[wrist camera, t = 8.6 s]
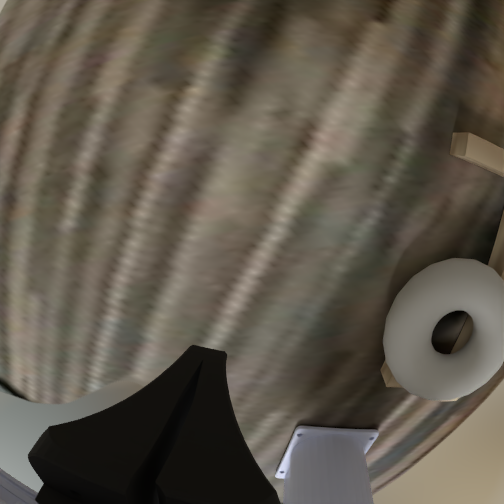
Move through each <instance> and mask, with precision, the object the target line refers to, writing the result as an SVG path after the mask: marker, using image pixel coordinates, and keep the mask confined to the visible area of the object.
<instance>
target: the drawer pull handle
mask: <svg viewBox="0 0 504 504" xmlns="http://www.w3.org/2000/svg"><path fill="white" fill-rule="evenodd" d="M450 155H452V156H455V157H457V158H460V159H462V160H465V161H467V162H470V163H472V164H475V165H477V166H479V167H482V168H484V169H486V170H489V171H491V172H493V173H495V174H497V175H500V176H502V177H504V149H502V148H500V147H498V146H497V145H495V144H493V143H490V142H488V141H486V140H484V139H482V138H480V137H478V136H476V135H474V134H471V133H469V132H460V133H453V136H452V142H451V149H450ZM488 266H489V267H491V268H493V269H494V270H495V271H496V272H497V274H498V275H499V276H500V277H501V278H502V279H503V280H504V210H503V214H502V218H501V222H500V226H499V230H498V233H497V237H496V240H495V244H494V247H493V250H492V253H491V257H490V260H489V263H488ZM472 332H473V319H472V317H471V316H470V315H468V317H467V319H466V322H465V324H464V326H463V328H462V331H461V333H460V335H459V337H458V339H457V341H456V343H455V345H454V347H453V349H452V351H451V353H450V354H452V353H455V352H457V351H458V350H460V349H461V348H463V347H464V346H465V345H466V343H467V342H468V341H469V339H470V337H471V335H472ZM380 371H381V373H382V376H383V379H384V382H385V384H386V387H402V386H401V385H400V384H399V383H398V382H397V381H396V379H395V377H394V376H393V374H392V372H391V370H390V368H389V366H388V365H387V363H386V359H385V361H384V363H383V366H382V368H381V370H380ZM402 388H404V387H402ZM457 399H458V398H456V399H452V400H439V401H457Z"/></svg>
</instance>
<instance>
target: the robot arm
mask: <svg viewBox="0 0 504 504" xmlns="http://www.w3.org/2000/svg"><path fill="white" fill-rule="evenodd" d="M226 360H227V354H226V353H225V352H224V351H219V350H214V349H210V348H205V347H200V346H196V345H192V346H190V347H189V348H188V349H187V350H186V351H185V352H184V353H183V354H182V355H181V356H180V357H179V358H178V359H177V360H176V361H175V362H174V363H173V364H172V365H171V366H170V367H169V368H168V369H167V370H165V371H164V372H163V373H162V374H161V375H160V376H158V377H157V378H156V379H154V380H153V381H152V382H150V383H149V384H148V385H147V386H145V387H144V388H142V389H141V390H139V391H138V392H136V393H135V394H133V395H132V396H130V397H128V398H127V399H125V400H123V401H121V402H119V403H117V404H115V405H113V406H111V407H109V408H107V409H105V410H103V411H100V412H98V413H95V414H93V415H90V416H87V417H85V418H82V419H78V420H75V421H71V422H68V423H63V424H59V425H54V426H49V427H48V429H47V430H46V431H45V432H44V433H43V434H42V435H41V437H40V438H39V439H38V441H37V442H36V444H35V445H34V447H33V448H32V450H31V451H30V452H29V454H28V459H29V462H30V464H31V466H32V467H33V469H34V470H35V472H36V473H37V474H38V476H39V477H40V479H41V480H42V481H43V483H44V484H43V486H42V488H41V489H40V491H39V493H37V492H35V491H34V490H32V489H30V488H29V487H27V486H26V485H24V484H23V483H21V482H20V481H18V480H16V479H15V478H13V477H12V476H11V475H9V474H8V473H6V472H5V471H3V470H2V469H1V468H0V504H280V501H279V498H278V495H277V492H276V490H275V489H274V488H273V486H272V485H271V484H270V482H269V481H268V479H267V478H266V477H265V475H264V474H263V472H262V471H261V469H260V468H259V466H258V464H257V463H256V461H255V459H254V457H253V456H252V454H251V452H250V450H249V448H248V446H247V444H246V442H245V440H244V438H243V435H242V433H241V431H240V428H239V426H238V423H237V420H236V417H235V414H234V411H233V407H232V404H231V400H230V395H229V390H228V384H227V377H226ZM299 433H300V434H299ZM378 435H379V432H378V430H375V429H342V428H326V427H313V426H298V427H297V428H296V429H295V432H294V434H293V436H292V438H291V441H290V443H289V445H288V447H287V450H286V452H285V454H284V456H283V458H282V461H281V463H280V465H279V467H278V469H277V471H276V473H275V477H277V478H282V479H284V499H283V504H374V503H373V497H372V491H371V485H370V480H369V474H368V469H367V463H366V458H365V454H366V452H367V451H368V450H369V448H370V447H371V445H372V444H373V442H374V441H375V439H376V438H377V437H378Z"/></svg>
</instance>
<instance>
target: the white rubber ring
mask: <svg viewBox="0 0 504 504" xmlns="http://www.w3.org/2000/svg"><path fill="white" fill-rule="evenodd" d="M456 310H462V311H466V312H467V313H468V314H469V315H470V316H471V317H472V319H473V332H472V335H471V337H470V339H469V341H468V342H467V343H466V345H465V346H464V347H463V348H461V349H460V350H458V351H457V352H455V353H452V354H441V353H439V352H437V351H435V350H434V348H433V346H432V343H431V337H432V332H433V330H434V328H435V326H436V324H437V323H438V321H439V320H440V319H441V318H442V317H443V316H445V315H446V314H448V313H449V312H453V311H456ZM383 346H384V352H385V358H386V363H387V365H388V366H389V368H390V370H391V372H392V374H393V376H394V377H395V379H396V381H397V382H398V383H399V384H400V385H401V386H402V387H404V388H405V389H406V390H407V391H408V392H410V393H411V394H413V395H416V396H419V397H422V398H425V399H428V400H452V399H456V398H459V397H462V396H465V395H468V394H470V393H471V392H473V391H475V390H476V389H478V388H479V387H481V386H482V385H484V384H485V383H486V382H487V381H488V380H489V379H490V378H491V377H492V376H493V375H494V374H495V373H496V372H497V371H498V369H499V368H500V367H501V365H502V363H503V362H504V280H503V279H502V278H501V277H500V276H499V275H498V274H497V272H496V271H495V270H494V269H493V268H491V267H489V266H487V265H485V264H483V263H481V262H479V261H477V260H475V259H463V258H451V259H447V260H444V261H441V262H437V263H434V264H431V265H429V266H428V267H426V268H425V269H423V270H422V271H420V272H419V273H417V274H416V275H414V276H413V277H412V278H411V279H410V280H409V281H408V282H407V284H406V285H405V286H404V287H403V288H402V290H401V291H400V292H399V293H398V294H397V295H396V298H395V300H394V302H393V304H392V306H391V309H390V311H389V313H388V315H387V318H386V324H385V330H384V337H383Z"/></svg>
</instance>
